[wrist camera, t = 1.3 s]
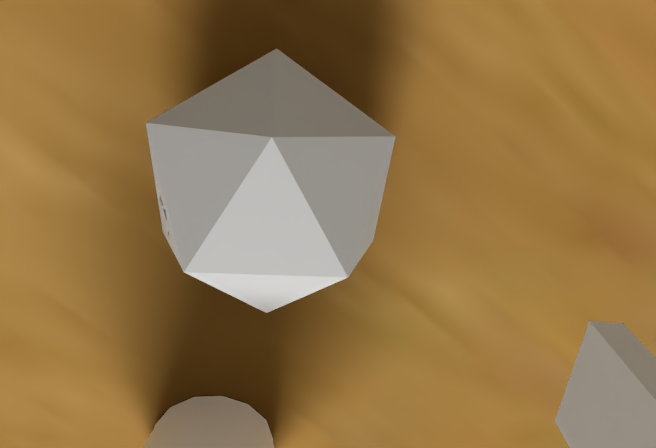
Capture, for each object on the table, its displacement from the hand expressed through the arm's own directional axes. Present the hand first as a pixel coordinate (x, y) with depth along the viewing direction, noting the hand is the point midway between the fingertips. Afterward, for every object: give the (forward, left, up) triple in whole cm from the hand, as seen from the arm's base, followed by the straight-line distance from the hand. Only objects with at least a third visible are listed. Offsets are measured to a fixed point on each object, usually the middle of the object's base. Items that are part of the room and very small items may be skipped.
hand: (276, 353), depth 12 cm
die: (0, 0, -14) cm, 14 cm away
